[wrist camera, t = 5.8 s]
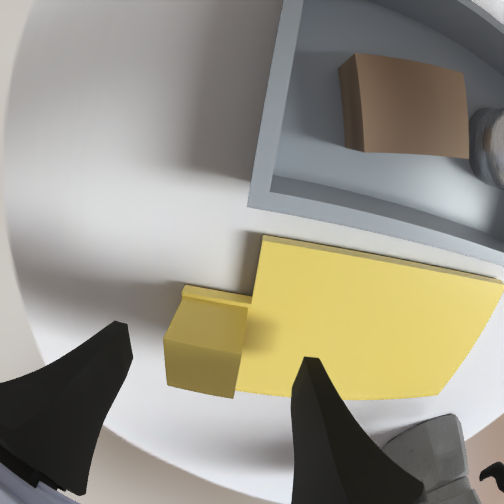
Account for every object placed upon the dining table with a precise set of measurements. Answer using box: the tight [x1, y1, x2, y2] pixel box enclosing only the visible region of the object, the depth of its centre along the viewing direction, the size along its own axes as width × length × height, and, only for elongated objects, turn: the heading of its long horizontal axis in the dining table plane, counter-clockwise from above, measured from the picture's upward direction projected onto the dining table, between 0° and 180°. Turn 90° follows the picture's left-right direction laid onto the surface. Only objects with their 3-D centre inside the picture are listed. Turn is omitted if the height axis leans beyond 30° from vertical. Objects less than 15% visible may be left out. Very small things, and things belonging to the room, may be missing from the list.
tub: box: [247, 0, 504, 266], centre depth 7 cm, size 14×9×4 cm, turn 81°
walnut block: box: [338, 53, 469, 159], centre depth 7 cm, size 4×3×2 cm
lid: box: [163, 235, 504, 400], centre depth 12 cm, size 17×9×4 cm, turn 81°
